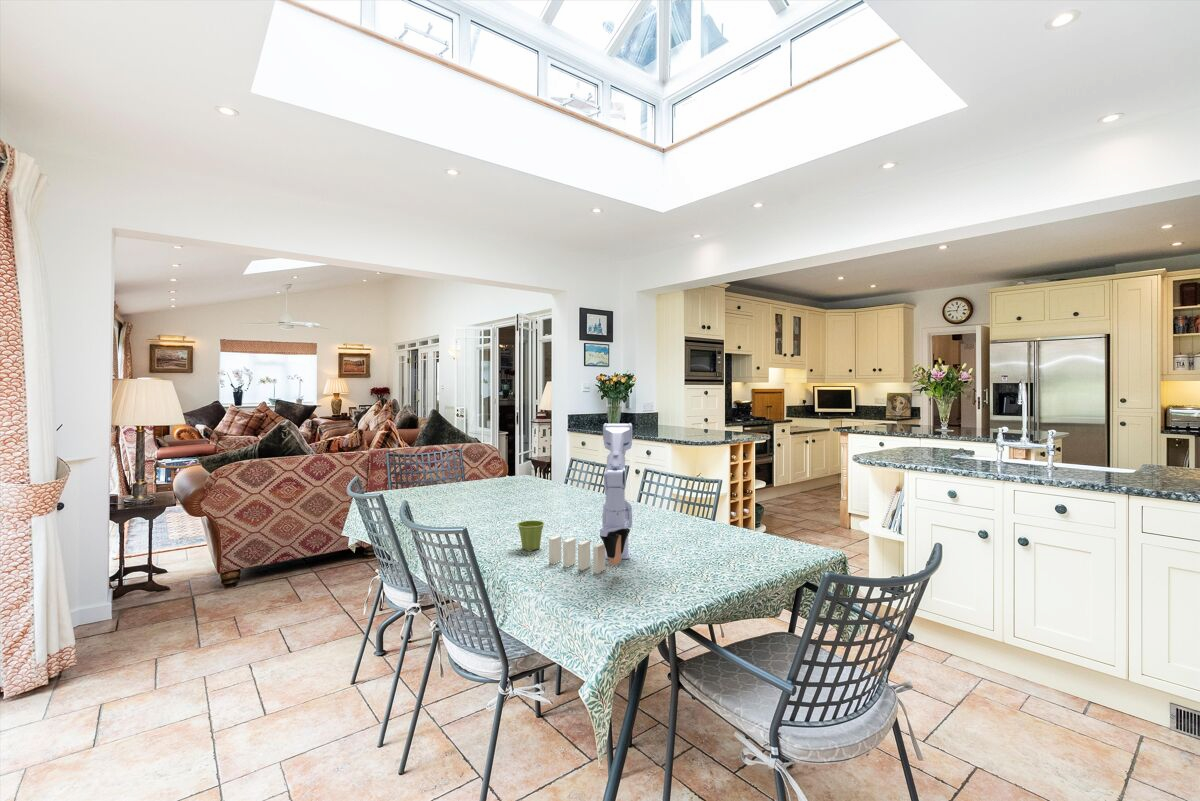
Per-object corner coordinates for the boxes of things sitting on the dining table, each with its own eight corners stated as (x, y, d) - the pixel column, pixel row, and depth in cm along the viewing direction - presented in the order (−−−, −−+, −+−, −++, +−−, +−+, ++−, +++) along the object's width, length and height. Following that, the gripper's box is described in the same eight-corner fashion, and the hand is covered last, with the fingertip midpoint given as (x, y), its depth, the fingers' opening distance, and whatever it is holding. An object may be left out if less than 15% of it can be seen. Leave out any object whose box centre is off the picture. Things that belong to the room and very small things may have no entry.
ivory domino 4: (593, 572, 162) (593, 546, 162) (600, 568, 166) (600, 542, 166) (597, 573, 161) (597, 547, 161) (605, 569, 165) (605, 543, 165)
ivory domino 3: (578, 569, 165) (577, 543, 165) (585, 565, 169) (585, 540, 169) (582, 570, 164) (582, 544, 164) (590, 566, 168) (590, 541, 168)
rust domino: (609, 564, 159) (609, 537, 159) (616, 560, 163) (616, 534, 163) (613, 565, 158) (613, 538, 158) (621, 561, 162) (621, 535, 162)
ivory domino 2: (563, 566, 168) (563, 541, 168) (571, 562, 172) (571, 537, 172) (567, 567, 167) (567, 542, 167) (575, 563, 171) (575, 538, 171)
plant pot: (515, 552, 183) (514, 526, 183) (520, 544, 192) (519, 520, 192) (542, 552, 183) (542, 527, 182) (546, 544, 192) (546, 520, 192)
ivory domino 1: (549, 563, 171) (548, 538, 171) (557, 559, 175) (557, 535, 174) (553, 564, 170) (553, 539, 170) (561, 560, 174) (561, 536, 174)
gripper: (614, 516, 152) (614, 563, 153) (638, 506, 165) (638, 550, 165) (593, 513, 156) (593, 559, 156) (617, 504, 168) (617, 547, 169)
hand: (615, 554), depth 161 cm, fingers closed on rust domino, 4 cm apart
